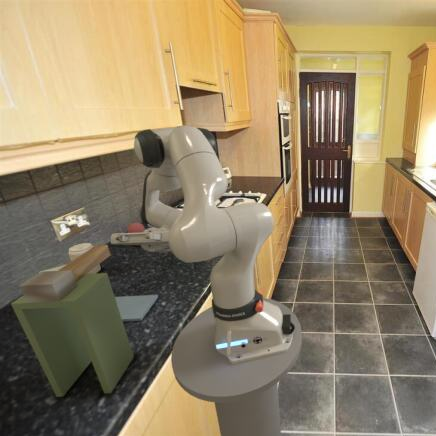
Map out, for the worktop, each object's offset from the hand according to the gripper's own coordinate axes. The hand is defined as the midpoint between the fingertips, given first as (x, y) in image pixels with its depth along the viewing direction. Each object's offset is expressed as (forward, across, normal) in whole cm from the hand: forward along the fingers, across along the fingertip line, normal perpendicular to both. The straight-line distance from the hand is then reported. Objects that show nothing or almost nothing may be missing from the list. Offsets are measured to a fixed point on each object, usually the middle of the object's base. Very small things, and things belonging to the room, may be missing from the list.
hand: (132, 236), depth 84 cm
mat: (-9, -6, +23) cm, 26 cm away
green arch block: (+13, +1, +36) cm, 38 cm away
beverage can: (-31, -34, +11) cm, 47 cm away
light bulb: (-52, -26, -1) cm, 58 cm away
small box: (-13, -28, +21) cm, 37 cm away
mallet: (+22, +1, +11) cm, 25 cm away
